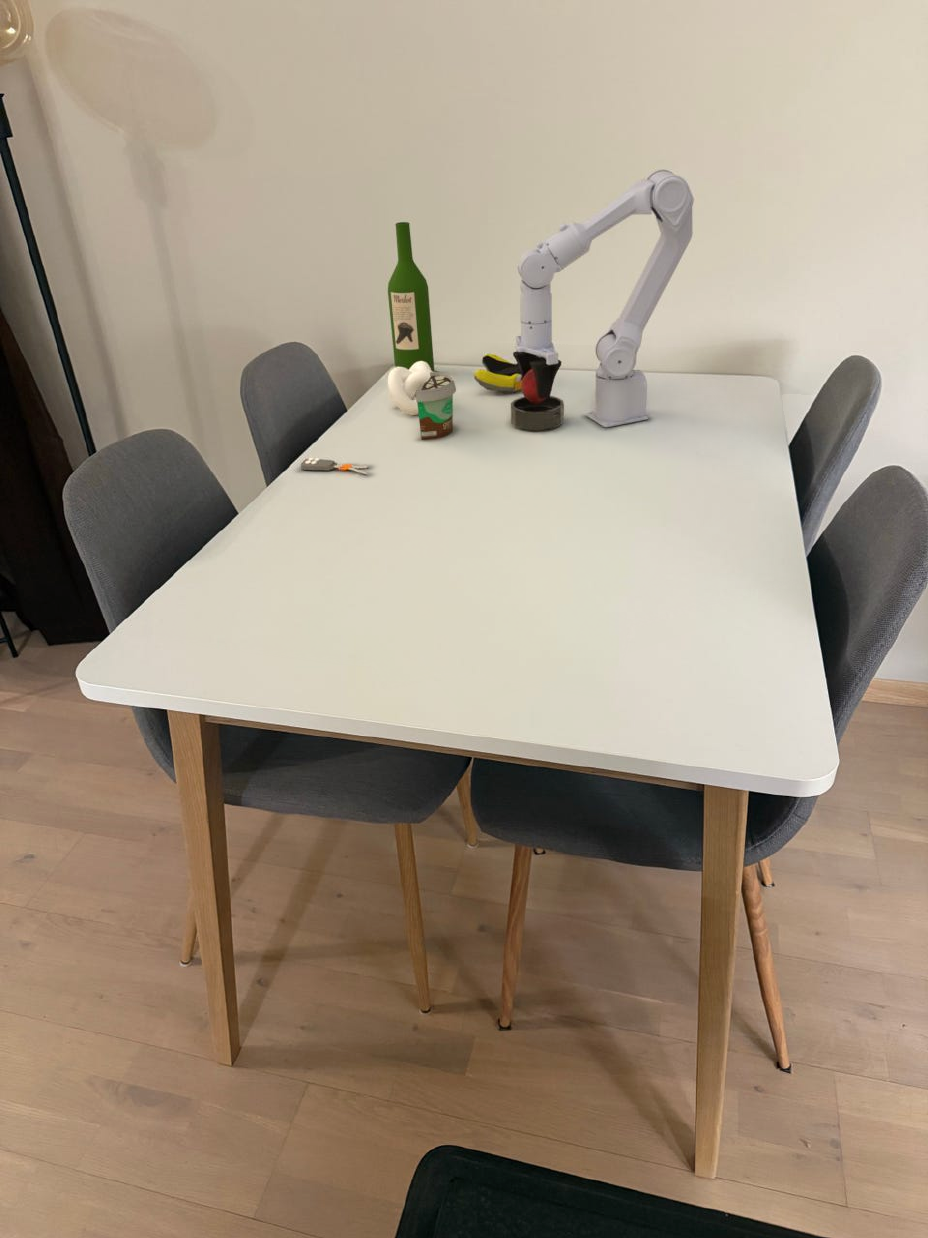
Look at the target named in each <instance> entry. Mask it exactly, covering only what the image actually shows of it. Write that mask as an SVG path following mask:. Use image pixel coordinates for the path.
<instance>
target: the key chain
mask: <svg viewBox="0 0 928 1238" xmlns="http://www.w3.org/2000/svg"><path fill="white" fill-rule="evenodd" d="M300 468H301V470H305V471H332V470H334V469H338V470H341V471H348V470H350V471H354V472H356V473H359V474H364V475H368V472H366V471H363V470H359V469H367V468H369V466H368V465H353V464H350V463H346V464H342V465H341V464H340V465H339V464H338V462H335V460H332V459H321V458H320V457H315V458H314V457H308V458H306V459H304V460H303V461H302V462H301V463H300Z"/></svg>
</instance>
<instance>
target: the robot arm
mask: <svg viewBox="0 0 928 1238" xmlns="http://www.w3.org/2000/svg"><path fill="white" fill-rule="evenodd" d="M694 201H695V198H694V196H693V193H692V190H691V188H690V185H689V182H687V180H686V179H685V178H684V177H682V176H680V175H677V174H674V173H673V172H672V171H671V170H668V169H658V170H655V171H653V172H652V173H651V174H649V175H648V176H647V178H646V177H644V178H643V179H640V180H638V181H637V182H635V183H634V184H632V185H631V186H630V187H628V188H627V189H626V190H624V191H623V192H621V193H620V194H619V195H618V196H616V198H613V200H611V201H610V202H608V204H606V205H605V206H603V207H602V208H601V209H600V210H599V211H597V212H596V213H594V214H593V215H591V217H590V218H588V219H586V221H584V222H583V223H578V222H573V221H572V222H570V223H569V224H566V223H562V224H561V225H559V226H558V229H559V230H558V232H556V233H554V234H553V235H552V236H550V237H549V238H547V239H546V240H545V241H543V242H542V241H539V242H537V243H536V244H535V246H536V248H535V249H533V248H532V249H529V250H527V251H525V252H524V253H523V254H522V256H521V257H520V259H519V261H518V265H517V272H518V275H519V276H520V277H521V280H520V296H519V301H520V303H519V304H520V306H519V307H520V308H519V309H520V335H517V336H515V351H513V352H512V355H513V358H514V359H515V361H516V364H517V363H518V366H519V369H520V372H521V376H522V380H523V378H524V376H525V374H526V373H527V372H528V371H529V370H531V369H533V372H534V375H535V379H536V386H537V394H538V397H539V398H540V399H541V398H547V397H550V396H551V393H552V391H551V390H553V385H554V381H555V378H556V375H557V373H558V371H559V370H560V368H561V366H562V360H561V359H559V352H557V351H556V348H555V346H554V343H553V317H552V316H553V315H552V314H553V312H552V311H553V305H552V304H553V302H552V301H553V296H552V292H551V283H552V280H553V279H554V276H555V273H560V272H561V271H563V270H564V269H566V268H568V267H569V266H570V265H571V264H573V263H574V262H576V261H578V260H580V258H582V257H584V256H585V255H586V254H588V253H589V251H590V250H591V249H590V248H591V244H592V242H593V240H595V239H596V238H598V237H600V236H601V235H603V234H604V233H606V232H608V231H609V230H611V229H612V228H614V227H615V226H617V225H619V224H620V223H621V222H623V221H625V220H626V219H628V218H629V217H631V216H635V215H652V214H654V216H655V220H656V223H657V225H658V229H659V231H660V236H659V238H658V240H657V242H656V243H655V245H654V247H653V249H652V251H651V254H650V256H649V257H648V259H647V262H646V263H645V266H644V268H643V269H642V271H641V273H640V275H639V277H638V279H637V281H636V283H635V285H634V286H633V289H632V290H631V293H630V295H629V297H628V299H627V301H626V303H625V305H624V307H623V308H622V311H621V313H620V314H619V316H618V317H617V319H615V321H613V322H612V323H611V325H610V327H609V328H608V330H607V332H606V333H604V334H603V335H602V336H601V337H600V338H599V339H598V340H597V342H596V344H595V351H594V352H595V355H596V358H597V360H598V361H599V362H600V363H599V365H598V366H597V369H596V370H595V389H594V390H595V395H594V397H595V399H594V402H595V403H594V411H592V412H587V413H586V417H588V418H589V419H591V420H593V422H596V423H597V424H599V425H600V426H602V428H610V427H616V426H621V425H627V424H631V423H637V422H641V421H646V420H648V419H649V418H648V416H647V401H648V382H647V378H646V374H644V372H643V371H642V370H640V369H635V367H636V365H637V355H638V352H639V349H640V347H641V346H642V345H641V344H642V339H643V333H644V331H645V328H646V326H647V324H648V323H649V320H650V319H651V317H652V315H653V314H654V313H653V312H654V311H655V309H656V307H657V306H658V303H659V302H660V299H661V297H662V295H663V293H664V292H665V290H666V289H667V286H668V284H669V282H670V280H671V279H672V277H673V275H674V272H675V271H676V270H677V267H678V265H679V264H680V261H681V259H682V258H683V256H684V254H685V252H686V250H687V248H688V246H689V244H690V242H691V241H692V237H693V205H694Z"/></svg>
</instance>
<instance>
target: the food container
mask: <svg viewBox="0 0 928 1238" xmlns="http://www.w3.org/2000/svg"><path fill="white" fill-rule="evenodd" d="M456 392H457V387H456V383H455V381H454V380H453V377H452V376H451V375H450V374H448V373H444V372H440V371H439V372H438V371H434V372H430V379H429V380H428V381H427V382H425V383H424V385H423V387H422V389H421V390H416V402H417V404H418V413H419V414H418V421H419V422H418V423H419V430H420V439H421V441H430V440H431V441H432V440H438V439H441V438H445V437H448V436H449V435H450V434H452V433H453V429H454V428H453V424H454V423H453V422H454V421H453V420H454V418H453V417H454V415H453V413H454V412H453V411H454V394H455V393H456Z"/></svg>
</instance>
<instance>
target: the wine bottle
mask: <svg viewBox="0 0 928 1238" xmlns="http://www.w3.org/2000/svg"><path fill="white" fill-rule="evenodd" d="M394 225H395V235H396V248H397V250H396V251H397V264H396V265H395V268H394V270H393V272H392V274H391V276H390V279H389V280H388V284H387V297H388V298H387V299H388V308H389V319H390V327H391V328H390V329H391V339H392V349H393V360H394V368H396V367H404V368H406V369H408V370H409V369H410V368H411V366H412V365H413V364H414V363H416V362H419V361H424V362H427V363H428V365H429V366H430V368H431V371H433V372H435V361H434V359H435V358H434V347H433V333H432V320H431V319H432V318H431V307H430V293H429V285H428V281H427V279H426V277H425V276H424V275H423V273H422V271H421V270H420V269H419V267H418V266H417V264H416V262H415V261H414V257H413V248H412V237H411V227H410V226H411V225H410V222H408V221H400V222H396V223H395V224H394Z"/></svg>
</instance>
